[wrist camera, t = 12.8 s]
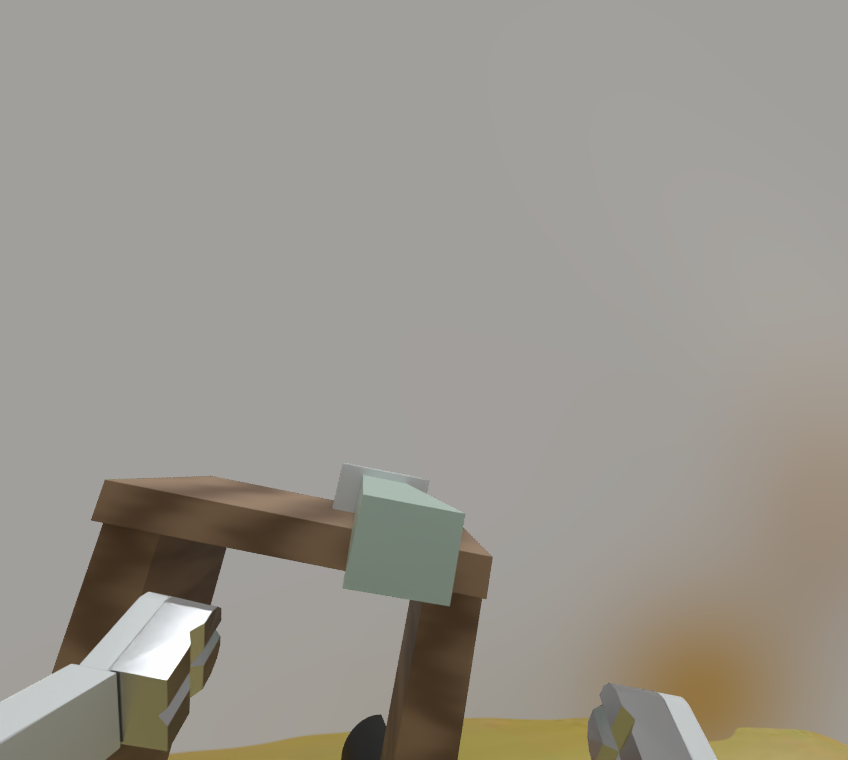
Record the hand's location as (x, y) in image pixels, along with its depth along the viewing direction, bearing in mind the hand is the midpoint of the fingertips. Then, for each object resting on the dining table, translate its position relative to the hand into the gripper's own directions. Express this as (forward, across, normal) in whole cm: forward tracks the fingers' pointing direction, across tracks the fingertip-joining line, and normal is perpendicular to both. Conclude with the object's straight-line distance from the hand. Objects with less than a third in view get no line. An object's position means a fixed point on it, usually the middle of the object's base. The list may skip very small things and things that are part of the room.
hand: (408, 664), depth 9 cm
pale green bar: (+13, -2, -7) cm, 15 cm away
